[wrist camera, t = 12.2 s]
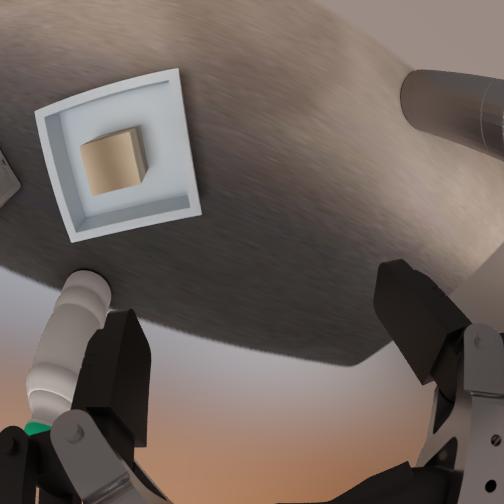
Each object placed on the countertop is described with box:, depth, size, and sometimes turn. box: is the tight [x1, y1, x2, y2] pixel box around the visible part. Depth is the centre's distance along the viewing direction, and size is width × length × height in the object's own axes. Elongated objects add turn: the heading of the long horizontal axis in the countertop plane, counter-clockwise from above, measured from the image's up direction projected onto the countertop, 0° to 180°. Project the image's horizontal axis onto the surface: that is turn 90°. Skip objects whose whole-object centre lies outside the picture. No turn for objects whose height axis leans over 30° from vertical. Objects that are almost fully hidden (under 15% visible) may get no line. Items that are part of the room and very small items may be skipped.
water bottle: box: [24, 270, 111, 435], centre depth 27 cm, size 7×7×25 cm
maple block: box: [79, 125, 149, 196], centre depth 27 cm, size 5×5×6 cm
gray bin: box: [35, 68, 202, 243], centre depth 28 cm, size 15×15×5 cm
